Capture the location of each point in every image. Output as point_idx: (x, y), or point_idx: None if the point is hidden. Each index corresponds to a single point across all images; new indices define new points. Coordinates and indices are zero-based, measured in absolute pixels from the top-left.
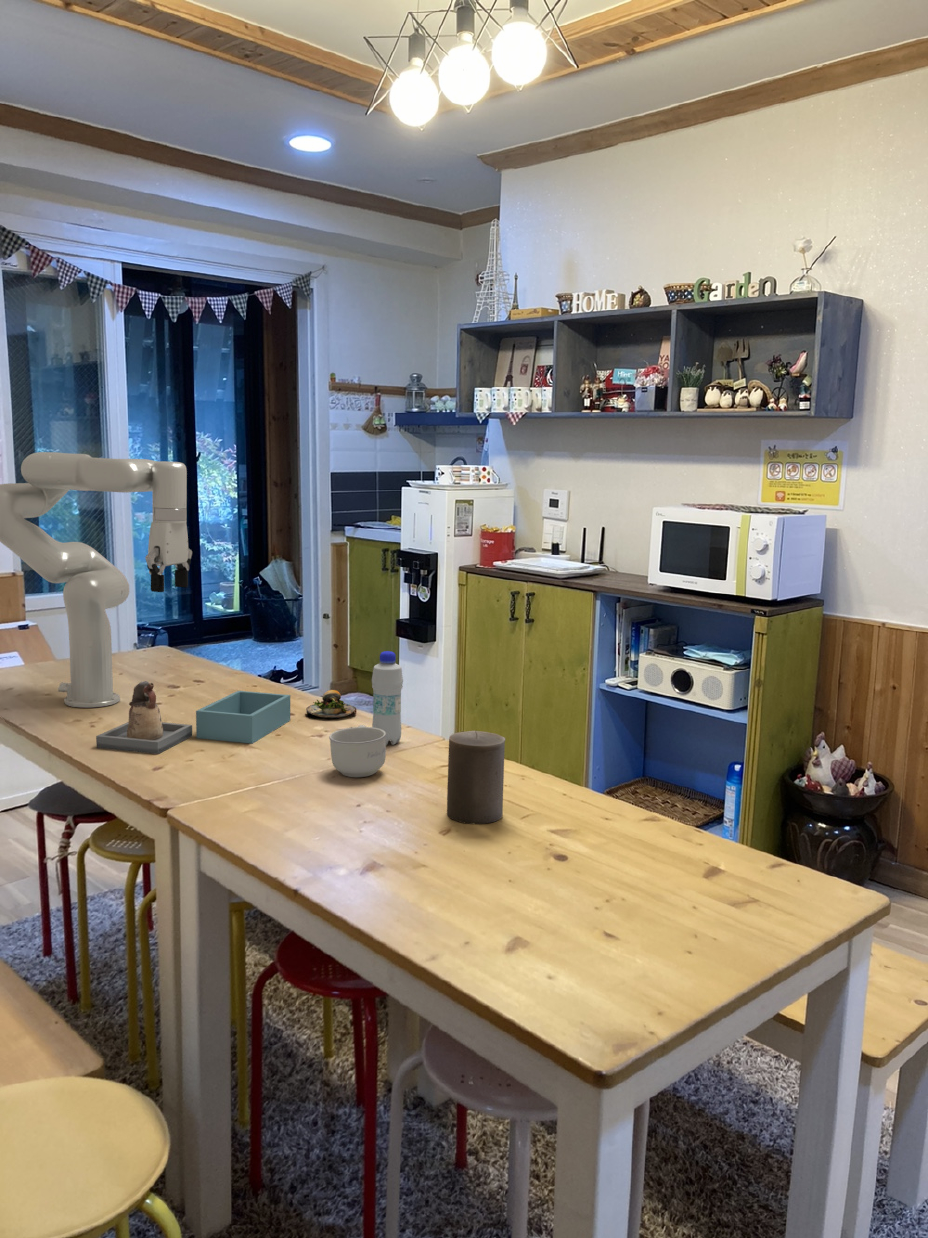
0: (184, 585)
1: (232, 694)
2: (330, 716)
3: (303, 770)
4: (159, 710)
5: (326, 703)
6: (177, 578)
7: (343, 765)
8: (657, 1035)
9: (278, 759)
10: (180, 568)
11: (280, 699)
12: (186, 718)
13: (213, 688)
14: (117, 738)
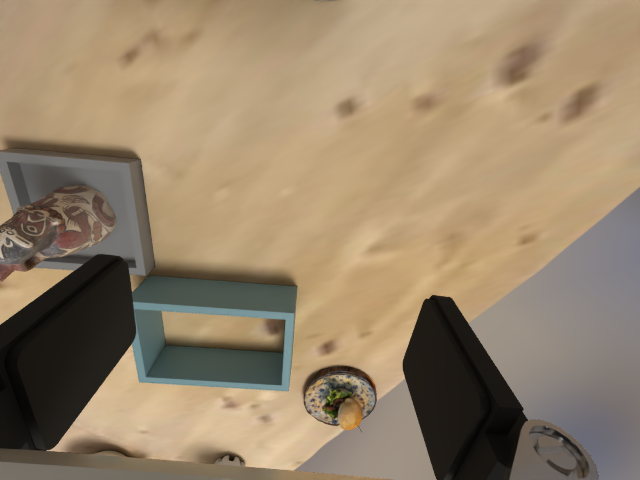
0: (408, 365)
1: (261, 314)
2: (309, 403)
3: (91, 421)
4: (73, 252)
5: (333, 405)
6: (439, 359)
7: None
8: None
9: (114, 392)
10: (480, 478)
11: (254, 387)
12: (253, 213)
13: (502, 167)
14: (8, 196)
